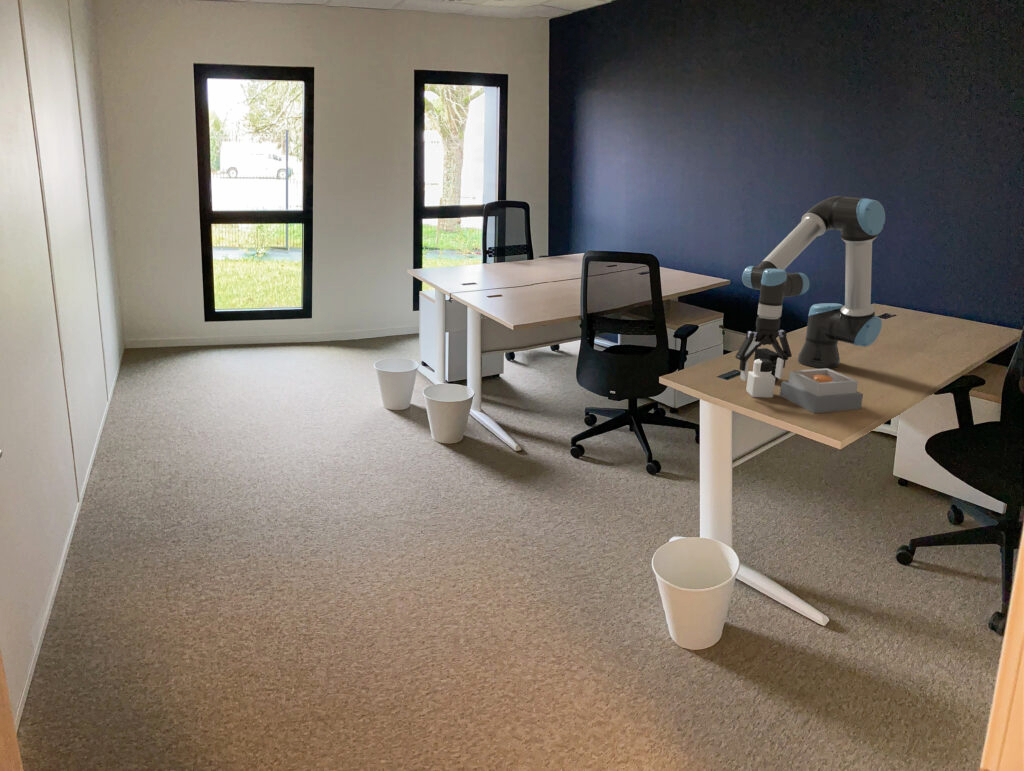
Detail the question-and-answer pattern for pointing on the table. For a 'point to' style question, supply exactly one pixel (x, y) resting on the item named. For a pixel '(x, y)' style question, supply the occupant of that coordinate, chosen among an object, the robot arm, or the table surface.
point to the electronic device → (768, 355)
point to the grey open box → (821, 391)
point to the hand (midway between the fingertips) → (760, 378)
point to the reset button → (822, 378)
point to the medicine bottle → (761, 379)
